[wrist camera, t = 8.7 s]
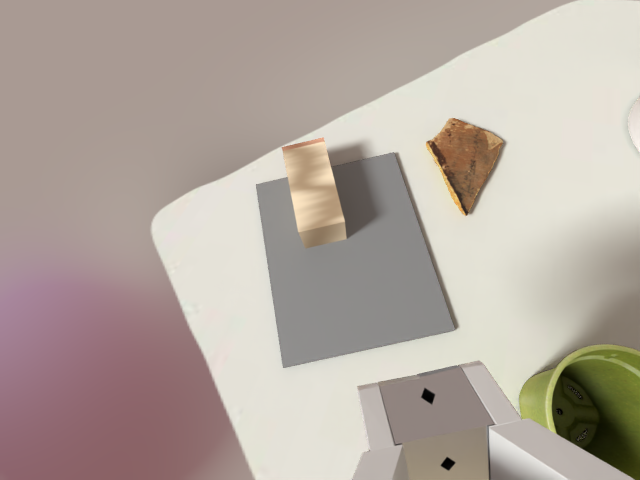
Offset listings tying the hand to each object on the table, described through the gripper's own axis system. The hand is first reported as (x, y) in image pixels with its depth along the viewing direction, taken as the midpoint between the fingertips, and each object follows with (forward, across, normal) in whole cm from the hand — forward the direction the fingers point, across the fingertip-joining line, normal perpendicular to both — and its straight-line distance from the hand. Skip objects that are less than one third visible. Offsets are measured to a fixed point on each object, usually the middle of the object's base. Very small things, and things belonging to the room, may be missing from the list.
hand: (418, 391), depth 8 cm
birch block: (+25, +2, +6) cm, 26 cm away
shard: (+32, -16, +5) cm, 36 cm away
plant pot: (+14, -14, +22) cm, 29 cm away
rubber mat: (+27, 0, +9) cm, 28 cm away
